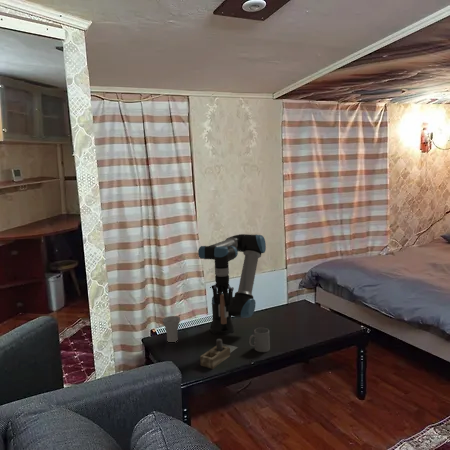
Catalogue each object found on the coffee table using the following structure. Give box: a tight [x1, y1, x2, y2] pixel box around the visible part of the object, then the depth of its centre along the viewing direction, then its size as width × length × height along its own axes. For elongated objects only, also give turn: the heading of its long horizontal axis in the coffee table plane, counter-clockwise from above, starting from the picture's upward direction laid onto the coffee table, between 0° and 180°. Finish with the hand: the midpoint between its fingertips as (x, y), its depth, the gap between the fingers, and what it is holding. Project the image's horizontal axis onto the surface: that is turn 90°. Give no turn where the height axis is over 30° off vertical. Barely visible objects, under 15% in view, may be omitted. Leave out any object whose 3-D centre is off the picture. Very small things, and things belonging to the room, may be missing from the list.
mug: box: [248, 327, 271, 353], centre depth 229 cm, size 12×8×11 cm
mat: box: [222, 343, 239, 354], centre depth 232 cm, size 10×10×1 cm
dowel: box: [220, 294, 227, 324], centre depth 228 cm, size 3×3×16 cm
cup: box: [162, 315, 181, 343], centre depth 245 cm, size 10×10×14 cm
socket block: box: [199, 338, 231, 370], centre depth 218 cm, size 8×16×10 cm, turn 146°
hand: (223, 316), depth 228 cm, fingers closed on dowel, 3 cm apart
